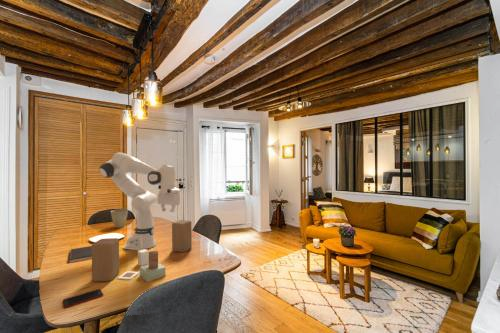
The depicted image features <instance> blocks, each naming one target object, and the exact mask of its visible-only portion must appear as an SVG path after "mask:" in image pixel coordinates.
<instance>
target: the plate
mask: <svg viewBox="0 0 500 333" xmlns="http://www.w3.org/2000/svg"><path fill="white" fill-rule="evenodd" d="M125 237H126V236H125V235H124V234H122V233H117V232H110V233H105V234H99V235H96V236H92V237H90V238H88V240H89V241H90V242H92V243H95V242H97V241H98V240H100V239H106V238H118V239H119V240H120V239H124V238H125Z"/></svg>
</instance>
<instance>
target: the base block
mask: <svg viewBox="0 0 500 333" xmlns="http://www.w3.org/2000/svg"><path fill="white" fill-rule="evenodd" d="M139 272H140V273H139V277H141V278H142V279H143V280H144V281H145V280H146V281H145V282H146V283H148V282H151V281H153V280H154V281H155V280H156V279H160V278H163V277H165V276H166V266H164V265H163V264H161V263H160V262H159V261H158V268H155V269H149V264H146V265H143V266H140V267H139Z"/></svg>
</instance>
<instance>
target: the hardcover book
mask: <svg viewBox="0 0 500 333" xmlns="http://www.w3.org/2000/svg"><path fill="white" fill-rule="evenodd" d="M68 257H69V258H68V264H69V263H76V262H81V261H86V260H92V245H89V246H83V247H77V248H76V247H75V248H71V249H70V251H69V255H68Z"/></svg>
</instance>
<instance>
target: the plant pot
mask: <svg viewBox="0 0 500 333" xmlns="http://www.w3.org/2000/svg"><path fill="white" fill-rule="evenodd" d="M128 213H129V209H128V208H120V209H114V210H110V214H111V220H112V222H113V226H114V227H115V228H116V229H119V228H124V227H125V225H126V222H127V219H128Z"/></svg>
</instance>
